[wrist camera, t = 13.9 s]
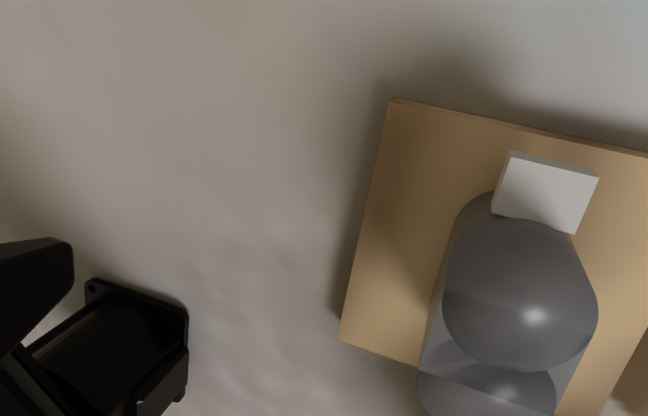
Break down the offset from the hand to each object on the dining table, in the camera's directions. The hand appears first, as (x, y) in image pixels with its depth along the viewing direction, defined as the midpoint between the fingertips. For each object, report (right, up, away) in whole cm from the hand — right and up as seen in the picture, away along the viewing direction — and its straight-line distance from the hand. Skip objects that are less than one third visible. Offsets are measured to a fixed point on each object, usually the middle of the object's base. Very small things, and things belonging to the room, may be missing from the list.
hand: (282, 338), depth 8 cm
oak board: (+8, 0, +11) cm, 13 cm away
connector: (+7, 0, +10) cm, 12 cm away
